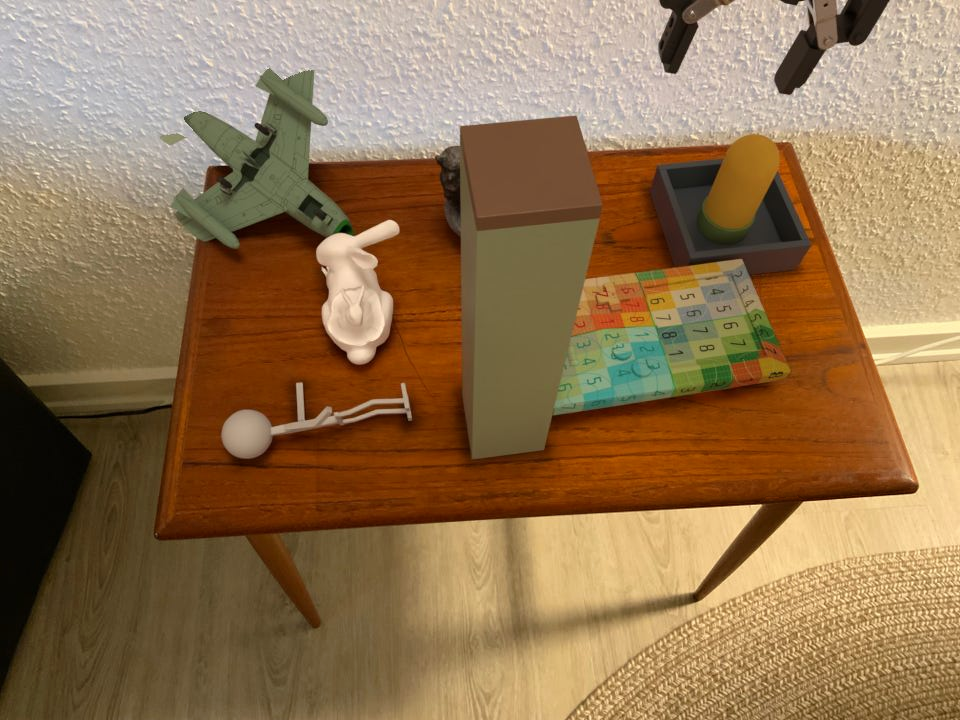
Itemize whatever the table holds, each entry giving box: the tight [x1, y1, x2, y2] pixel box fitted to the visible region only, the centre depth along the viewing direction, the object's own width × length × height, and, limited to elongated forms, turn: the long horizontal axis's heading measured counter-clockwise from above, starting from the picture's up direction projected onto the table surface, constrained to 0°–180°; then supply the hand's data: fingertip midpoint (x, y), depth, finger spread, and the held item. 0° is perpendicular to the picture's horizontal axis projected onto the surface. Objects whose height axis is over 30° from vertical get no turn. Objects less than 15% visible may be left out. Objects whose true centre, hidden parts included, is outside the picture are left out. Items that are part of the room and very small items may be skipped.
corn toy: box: [697, 133, 781, 244], centre depth 67 cm, size 5×5×11 cm
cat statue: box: [434, 145, 461, 238], centre depth 67 cm, size 12×7×10 cm, turn 86°
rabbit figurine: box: [315, 219, 401, 366], centre depth 63 cm, size 12×8×10 cm, turn 10°
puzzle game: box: [552, 259, 792, 416], centre depth 63 cm, size 12×5×20 cm
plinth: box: [459, 114, 604, 460], centre depth 49 cm, size 6×6×30 cm
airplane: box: [158, 67, 355, 250], centre depth 73 cm, size 24×23×10 cm
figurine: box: [220, 382, 413, 459], centre depth 59 cm, size 6×6×15 cm
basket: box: [649, 157, 812, 276], centre depth 71 cm, size 11×11×4 cm
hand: (725, 77), depth 51 cm, fingers open, 8 cm apart
